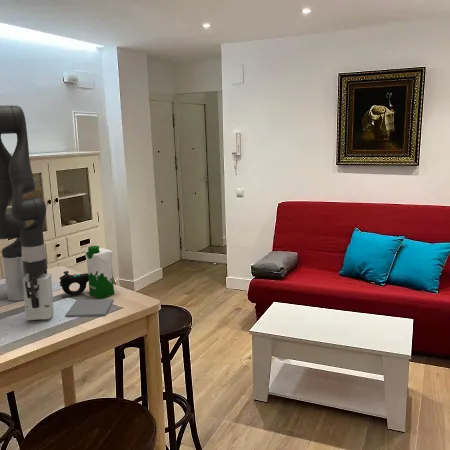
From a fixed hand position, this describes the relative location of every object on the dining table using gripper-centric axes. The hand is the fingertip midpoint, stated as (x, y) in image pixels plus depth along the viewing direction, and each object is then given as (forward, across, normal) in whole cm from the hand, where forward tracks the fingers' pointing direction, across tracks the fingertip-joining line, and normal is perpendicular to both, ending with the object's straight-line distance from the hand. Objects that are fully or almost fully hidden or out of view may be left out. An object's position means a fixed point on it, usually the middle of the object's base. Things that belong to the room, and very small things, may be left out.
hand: (39, 303), depth 157 cm
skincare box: (+5, 0, 0) cm, 5 cm away
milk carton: (+6, -22, +16) cm, 28 cm away
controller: (+6, -23, +6) cm, 24 cm away
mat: (+6, -8, +15) cm, 18 cm away
